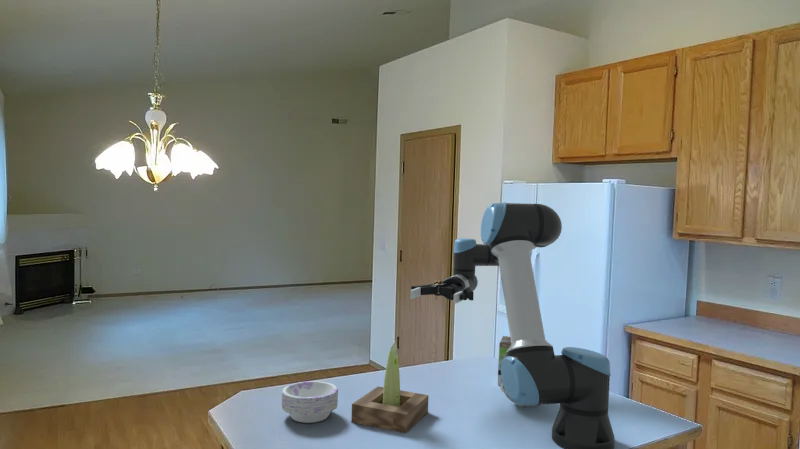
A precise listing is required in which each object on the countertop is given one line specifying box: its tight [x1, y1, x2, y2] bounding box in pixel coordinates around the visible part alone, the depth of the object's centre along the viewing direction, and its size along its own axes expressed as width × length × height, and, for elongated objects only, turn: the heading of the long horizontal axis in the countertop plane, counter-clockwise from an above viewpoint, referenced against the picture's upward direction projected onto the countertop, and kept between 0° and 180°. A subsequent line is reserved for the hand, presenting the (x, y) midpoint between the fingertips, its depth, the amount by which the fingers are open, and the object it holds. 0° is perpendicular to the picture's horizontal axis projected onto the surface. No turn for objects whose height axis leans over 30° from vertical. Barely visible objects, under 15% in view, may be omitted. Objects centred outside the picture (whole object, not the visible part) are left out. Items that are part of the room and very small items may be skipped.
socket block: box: [351, 386, 429, 434], centre depth 153 cm, size 16×16×5 cm
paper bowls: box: [281, 380, 339, 424], centre depth 152 cm, size 15×15×8 cm
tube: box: [383, 340, 401, 407], centre depth 152 cm, size 6×5×20 cm
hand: (432, 296), depth 163 cm, fingers open, 13 cm apart
